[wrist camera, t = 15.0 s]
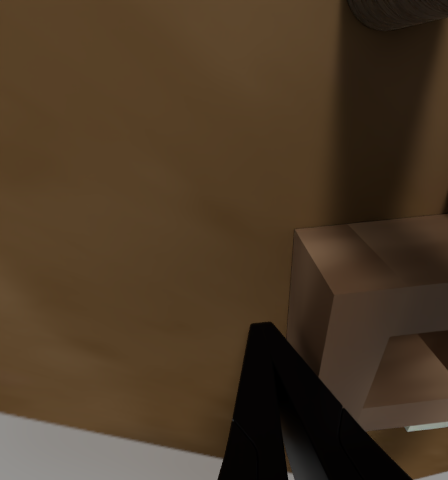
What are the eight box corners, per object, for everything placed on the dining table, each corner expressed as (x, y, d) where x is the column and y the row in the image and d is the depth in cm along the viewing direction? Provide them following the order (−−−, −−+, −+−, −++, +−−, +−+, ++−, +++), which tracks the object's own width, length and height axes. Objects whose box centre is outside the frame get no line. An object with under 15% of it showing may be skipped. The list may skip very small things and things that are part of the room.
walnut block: (508, 207, 9) (635, 262, 6) (435, 345, 12) (495, 416, 10) (294, 228, 9) (334, 294, 6) (284, 362, 12) (306, 438, 10)
